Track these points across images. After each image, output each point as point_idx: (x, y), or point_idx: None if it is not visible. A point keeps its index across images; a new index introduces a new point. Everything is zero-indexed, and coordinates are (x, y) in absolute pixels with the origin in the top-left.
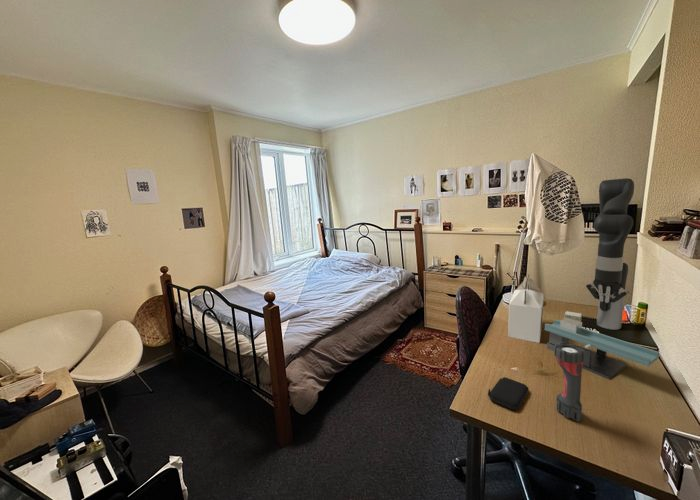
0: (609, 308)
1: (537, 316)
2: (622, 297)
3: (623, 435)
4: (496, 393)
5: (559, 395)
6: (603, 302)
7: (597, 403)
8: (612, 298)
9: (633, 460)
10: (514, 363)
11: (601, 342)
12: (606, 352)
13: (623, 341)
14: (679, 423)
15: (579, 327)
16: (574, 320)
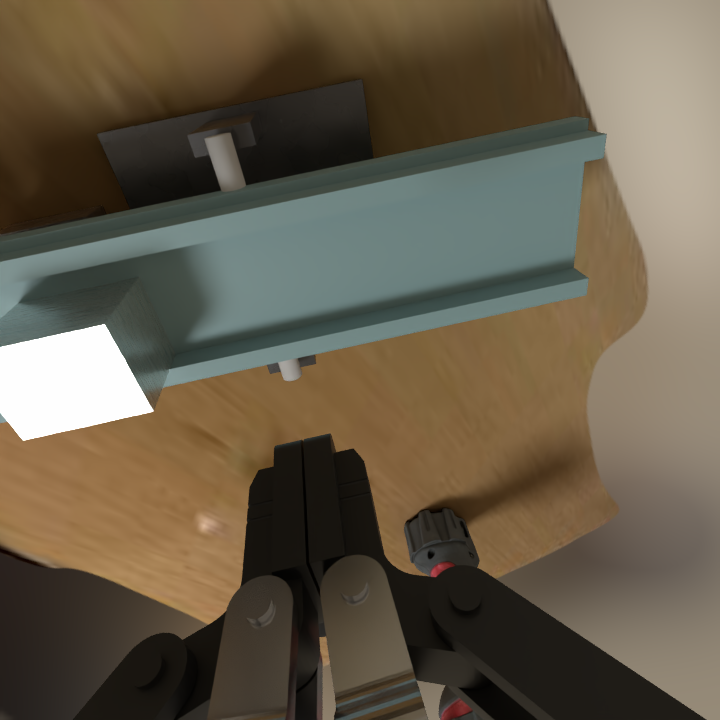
0: (363, 480)
1: None
2: (639, 693)
3: (538, 477)
4: (324, 633)
5: (423, 572)
6: (321, 616)
7: (448, 441)
8: (423, 648)
9: (572, 510)
10: (175, 508)
11: (339, 342)
12: (257, 119)
13: (398, 192)
14: (617, 324)
15: (137, 342)
16: (46, 348)
